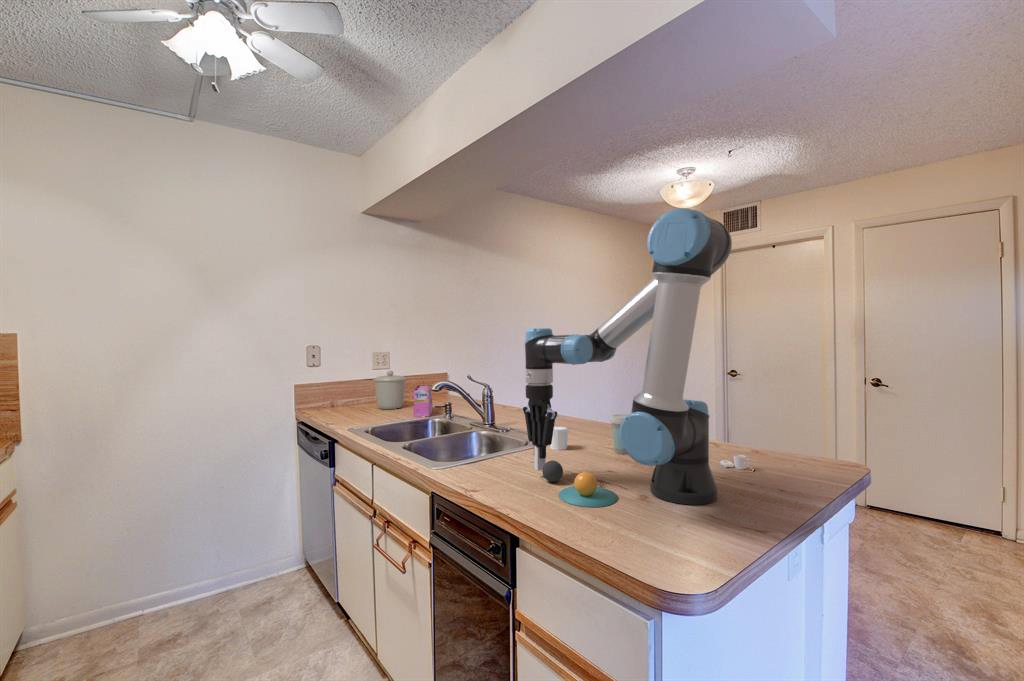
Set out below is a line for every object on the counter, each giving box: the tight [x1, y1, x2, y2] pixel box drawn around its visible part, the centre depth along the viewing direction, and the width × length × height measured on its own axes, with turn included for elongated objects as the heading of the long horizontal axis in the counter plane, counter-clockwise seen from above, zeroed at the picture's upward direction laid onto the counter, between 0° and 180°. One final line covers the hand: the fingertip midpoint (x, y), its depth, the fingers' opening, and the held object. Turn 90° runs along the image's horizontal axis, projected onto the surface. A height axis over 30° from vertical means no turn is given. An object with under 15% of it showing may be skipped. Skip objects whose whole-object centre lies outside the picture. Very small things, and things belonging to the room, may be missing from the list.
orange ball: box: [573, 471, 598, 496], centre depth 106 cm, size 6×6×6 cm
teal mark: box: [558, 486, 619, 508], centre depth 105 cm, size 14×14×1 cm
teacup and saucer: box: [719, 454, 751, 470], centre depth 127 cm, size 9×8×4 cm
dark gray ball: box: [541, 459, 564, 483], centre depth 116 cm, size 6×6×6 cm
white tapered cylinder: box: [549, 425, 569, 451], centre depth 152 cm, size 7×7×7 cm
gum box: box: [413, 384, 434, 418], centre depth 227 cm, size 24×8×14 cm, turn 7°
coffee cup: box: [610, 413, 629, 455], centre depth 145 cm, size 8×8×12 cm
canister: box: [372, 370, 407, 410], centre depth 245 cm, size 18×18×21 cm
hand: (540, 469), depth 121 cm, fingers closed
